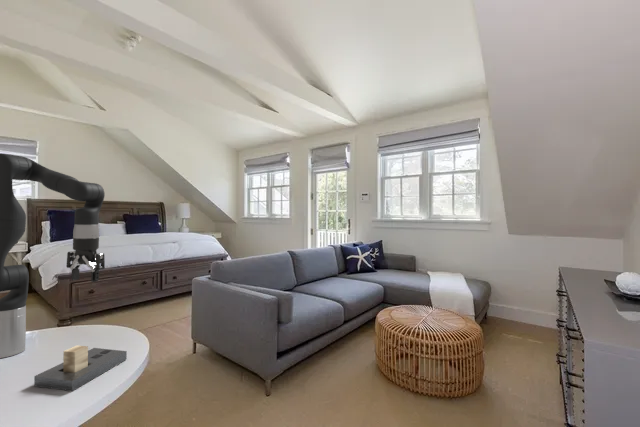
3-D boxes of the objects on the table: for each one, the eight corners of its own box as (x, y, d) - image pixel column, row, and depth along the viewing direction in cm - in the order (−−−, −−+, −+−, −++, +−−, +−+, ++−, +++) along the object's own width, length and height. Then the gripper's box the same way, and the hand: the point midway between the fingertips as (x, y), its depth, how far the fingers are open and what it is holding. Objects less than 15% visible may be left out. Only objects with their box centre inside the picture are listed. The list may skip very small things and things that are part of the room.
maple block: (63, 379, 96) (63, 351, 96) (76, 372, 100) (76, 345, 100) (74, 380, 95) (74, 352, 95) (87, 373, 100) (88, 346, 100)
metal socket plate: (34, 385, 92) (34, 375, 92) (94, 355, 112) (94, 347, 112) (72, 391, 90) (72, 380, 90) (126, 359, 109) (126, 350, 109)
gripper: (59, 236, 108) (58, 281, 108) (92, 238, 105) (91, 284, 105) (80, 235, 115) (79, 277, 115) (111, 236, 112) (110, 279, 112)
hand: (85, 280), depth 110 cm, fingers open, 8 cm apart
